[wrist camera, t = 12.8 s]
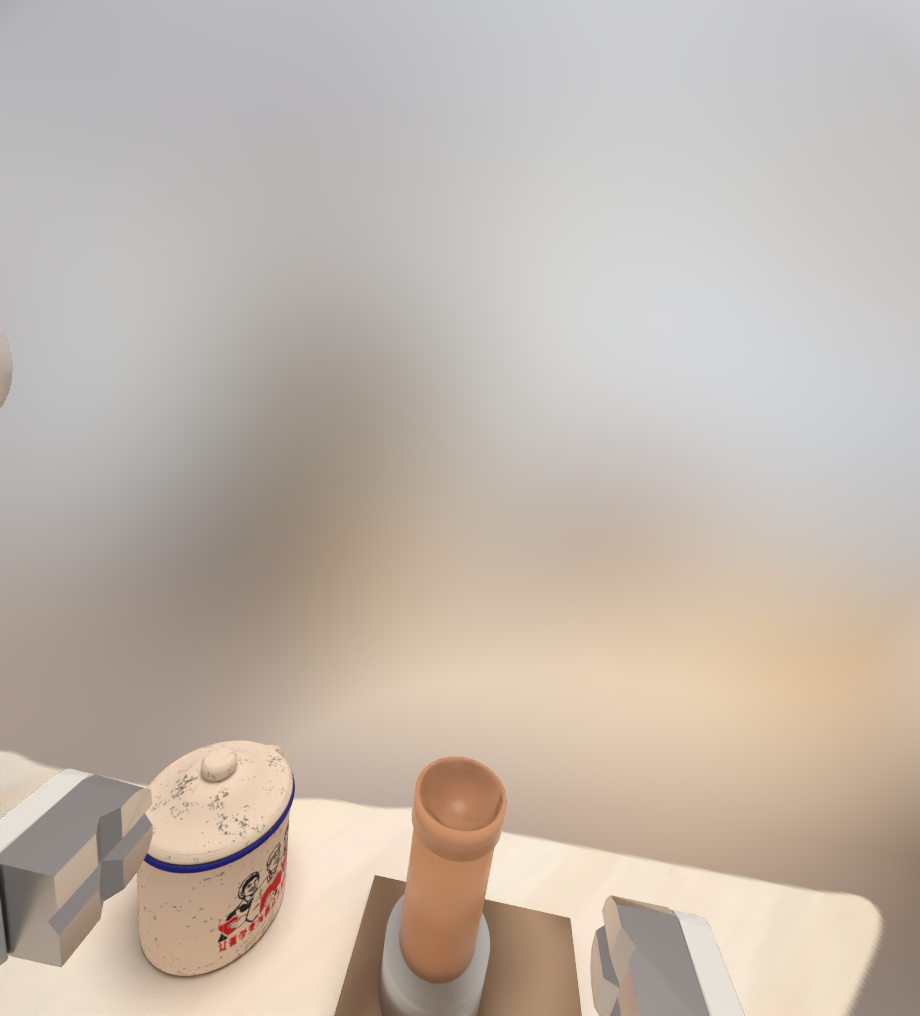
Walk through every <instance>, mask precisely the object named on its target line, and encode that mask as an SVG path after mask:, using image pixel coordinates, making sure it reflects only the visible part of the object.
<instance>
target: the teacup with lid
mask: <svg viewBox="0 0 920 1016" xmlns="http://www.w3.org/2000/svg"><path fill="white" fill-rule="evenodd" d="M147 789H150V790H151V793H152V806H151V807H150V808H149V809H148V810H147V811H146V812H145V814H146V816H147V817H148V819H149V820H150V822H151V823H152V825H153V830H152V839H151V843H150V847H149V851H148V852H147V854H146V856H145V858H144V860H143V862H142V864H141V866H140V868H139V870H138V871H137V884H138V912H139V936H140V942H141V946H142V949H143V951H144V954H145V955H146V957H147V958H148V960H149V961H150V962H151V963H152V964H153V965H154V966H156V967H157V968H158V969H160V970H162V971H164V972H167V973H169V974H173V975H180V976H192V975H199V974H203V973H207V972H210V971H213V970H216V969H218V968H220V967H222V966H224V965H226V964H228V963H230V962H232V961H233V960H235V959H236V958H238V957H239V956H241V955H242V954H243V953H245V952H246V951H247V950H248V949H249V948H250V947H251V946H252V945H253V944H254V943H256V942H257V941H258V939H259V938H260V937H261V936H262V935H263V934H264V932H265V931H266V930H267V928H268V927H269V925H270V924H271V922H272V921H273V919H274V917H275V915H276V913H277V911H278V909H279V907H280V904H281V901H282V898H283V894H284V888H285V877H286V860H287V843H288V827H289V810H290V807H291V805H292V802H293V798H294V790H295V785H294V778H293V774H292V771H291V769H290V767H289V765H288V763H287V762H286V760H285V759H284V758H283V750H282V748H281V747H279V746H276V745H267V746H266V745H263V744H260V743H257V742H251V741H228V742H221V743H216V744H212V745H209V746H206V747H203V748H200V749H198V750H195V751H193V752H191V753H189V754H187V755H185V756H183V757H182V758H180V759H178V760H177V761H175V762H173V763H172V764H171V765H169V766H168V767H167V768H165V770H163V771H162V772H161V773H160V774H159V775H158V776H157V777H156V778H155V779H154V780H153V781H152V782H151V783H150V785H149V786H148V787H147Z"/></svg>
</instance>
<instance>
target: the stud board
mask: <svg viewBox="0 0 920 1016" xmlns="http://www.w3.org/2000/svg"><path fill="white" fill-rule="evenodd" d="M405 888H406V882H404V881H399V880H395V879H390V878H386V877H381V876H376V875H375V877H374V880H373V884H372V887H371V891H370V894H369V898H368V901H367V905H366V908H365V912H364V915H363V918H362V922H361V925H360V929H359V932H358V936H357V939H356V943H355V946H354V950H353V953H352V957H351V960H350V963H349V967H348V970H347V974H346V977H345V981H344V984H343V988H342V991H341V995H340V998H339V1002H338V1005H337V1008H336V1012H335V1015H334V1016H582V1014H581V1005H580V997H579V989H578V980H577V972H576V963H575V955H574V946H573V938H572V930H571V921H570V918H567V917H562V916H558V915H553V914H549V913H544V912H540V911H535V910H531V909H526V908H522V907H517V906H513V905H508V904H503V903H499V902H494V901H490V900H485V899H484V904H483V910H482V915H481V920H480V926H479V931H478V936H477V941H476V947H475V951H474V956H473V958H472V961H471V963H470V965H469V967H468V968H467V969H466V971H465V972H464V973H463V974H462V975H461V976H459V977H458V978H457V979H455V980H453V981H451V982H448V983H443V984H435V983H430V982H427V981H425V980H423V979H421V978H419V977H418V976H416V975H415V974H414V973H413V972H412V971H411V970H410V968H409V967H408V966H407V964H406V962H405V960H404V958H403V956H402V953H401V949H400V943H399V932H400V924H401V917H402V910H403V902H404V895H405Z"/></svg>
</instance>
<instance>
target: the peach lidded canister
mask: <svg viewBox="0 0 920 1016" xmlns="http://www.w3.org/2000/svg"><path fill="white" fill-rule="evenodd" d="M506 801H507V800H506V793H505V789H504V787H503V785H502V783H501V781H500V780H499V778H498V777H497V776H496V775H495V773H494V772H493V771H491V770H490V769H489V768H488V767H486V766H485V765H483V764H481V763H479V762H477V761H475V760H472V759H469V758H464V757H447V758H442V759H439V760H436V761H434V762H432V763H430V764H429V765H428V766H427V767H425V768H424V769H423V771H422V772H421V773H420V775H419V777H418V779H417V782H416V787H415V794H414V802H413V809H412V823H413V827H414V830H413V837H412V844H411V851H410V859H409V866H408V873H407V881H406V888H405V895H404V902H403V910H402V917H401V924H400V932H399V943H400V949H401V953H402V956H403V958H404V960H405V962H406V964H407V966H408V967H409V968H410V970H411V971H412V972H413V973H414V974H415V975H416V976H418V977H419V978H421V979H423V980H425V981H427V982H430V983H435V984H443V983H448V982H451V981H453V980H455V979H457V978H458V977H459V976H461V975H462V974H463V973H464V972H465V971H466V969H467V968H468V967H469V965H470V963H471V961H472V958H473V956H474V951H475V947H476V941H477V936H478V931H479V926H480V920H481V915H482V910H483V904H484V899H485V894H486V889H487V883H488V878H489V873H490V868H491V862H492V857H493V852H494V847H495V846H496V844H497V842H498V840H499V838H500V835H501V831H502V826H503V820H504V815H505V810H506V803H507V802H506Z"/></svg>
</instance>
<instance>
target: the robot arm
mask: <svg viewBox="0 0 920 1016" xmlns="http://www.w3.org/2000/svg"><path fill="white" fill-rule="evenodd" d="M12 371H13V367H12V356H11V352H10V348H9V344H8V341H7V338H6V336H5V334H4V331H3V329H2V327H1V325H0V409H1V407H2V406H3V404H4V402H5V400H6V398H7V395H8V393H9V390H10V386H11V381H12ZM151 806H152V793H151V790H150V789H147V788H143V787H139V786H135V785H132V784H128V783H124V782H120V781H117V780H113V779H109V778H105V777H102V776H98V775H94V774H90V773H86V772H82V771H78V770H73V769H69V768H68V769H66V770H64V771H62V772H59V773H57V774H55V775H54V776H53V777H51V778H50V779H49V780H48V781H46V782H45V783H44V784H43V785H42V786H40V787H39V788H38V789H37V790H35V791H34V792H33V793H32V794H30V795H29V796H28V797H27V798H26V799H24V800H23V801H22V802H21V803H19V804H18V805H17V806H16V807H14V808H13V809H12V810H11V811H10V812H8V813H7V814H6V815H5V816H3V817H2V818H1V819H0V965H1V964H2V963H4V962H5V961H7V959H8V956H12V957H17V958H21V959H26V960H30V961H35V962H39V963H44V964H48V965H53V966H57V967H62V966H63V965H64V964H65V962H66V961H67V960H68V959H69V957H70V956H71V955H72V954H73V952H74V951H75V950H76V949H77V947H78V946H79V945H80V944H81V942H82V941H83V940H84V939H85V937H86V936H87V935H88V934H89V932H90V931H91V930H92V929H93V927H94V926H95V925H96V924H97V922H98V921H99V920H100V918H101V912H102V907H103V901H105V900H107V899H108V898H110V897H112V896H113V895H115V894H117V893H118V892H120V891H121V890H123V889H124V888H125V887H126V886H127V884H128V883H129V882H130V880H131V879H132V878H133V876H134V875H135V874H136V873H137V871H138V870H139V868H140V866H141V864H142V862H143V860H144V858H145V856H146V854H147V852H148V851H149V847H150V843H151V839H152V830H153V825H152V823H151V822H150V820H149V819H148V817H147V816H146V814H145V812H146V811H147V810H148V809H149V808H150V807H151ZM602 912H603V918H604V924H605V925H604V926H603V927H601V928H599V929H598V930H596V933H595V936H594V940H593V944H592V951H591V966H590V969H591V986H592V994H593V1002H594V1007H595V1009H596V1011H597V1013H598V1014H599V1016H745V1014H744V1012H743V1009H742V1007H741V1004H740V1002H739V999H738V996H737V994H736V991H735V989H734V986H733V984H732V981H731V978H730V976H729V973H728V971H727V968H726V966H725V963H724V960H723V958H722V955H721V953H720V950H719V948H718V945H717V942H716V940H715V937H714V935H713V932H712V930H711V927H710V925H709V924H708V922H707V921H706V920H705V918H704V917H701V916H698V915H694V914H689V913H685V912H680V911H676V910H670V909H669V908H667V907H662V906H658V905H653V904H648V903H644V902H639V901H634V900H630V899H625V898H620V897H616V896H611V895H610V896H609V897H608V898H607V899H606V901H605V904H604V907H603V910H602ZM7 955H8V956H7Z"/></svg>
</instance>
